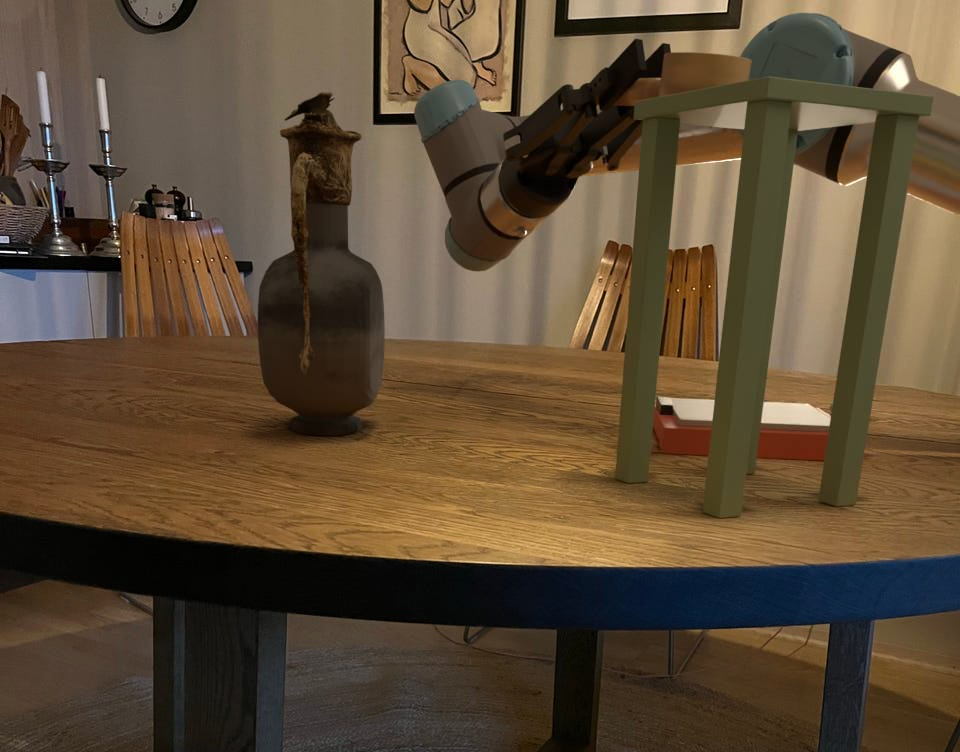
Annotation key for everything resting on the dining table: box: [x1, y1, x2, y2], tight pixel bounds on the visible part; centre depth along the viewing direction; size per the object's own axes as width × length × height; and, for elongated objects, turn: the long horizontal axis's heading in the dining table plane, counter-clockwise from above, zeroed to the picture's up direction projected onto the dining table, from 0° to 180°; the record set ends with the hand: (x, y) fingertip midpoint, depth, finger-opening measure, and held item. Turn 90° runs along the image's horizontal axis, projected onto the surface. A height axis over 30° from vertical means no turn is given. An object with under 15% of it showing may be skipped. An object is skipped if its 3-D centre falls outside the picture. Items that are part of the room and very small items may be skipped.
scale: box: [653, 396, 831, 462], centre depth 104 cm, size 18×18×3 cm
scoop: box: [598, 51, 752, 106], centre depth 89 cm, size 20×7×4 cm, turn 26°
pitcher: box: [257, 91, 386, 437], centre depth 96 cm, size 11×19×30 cm, turn 178°
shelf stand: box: [614, 76, 934, 519], centre depth 77 cm, size 15×14×28 cm
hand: (654, 56), depth 89 cm, fingers closed on scoop, 2 cm apart
